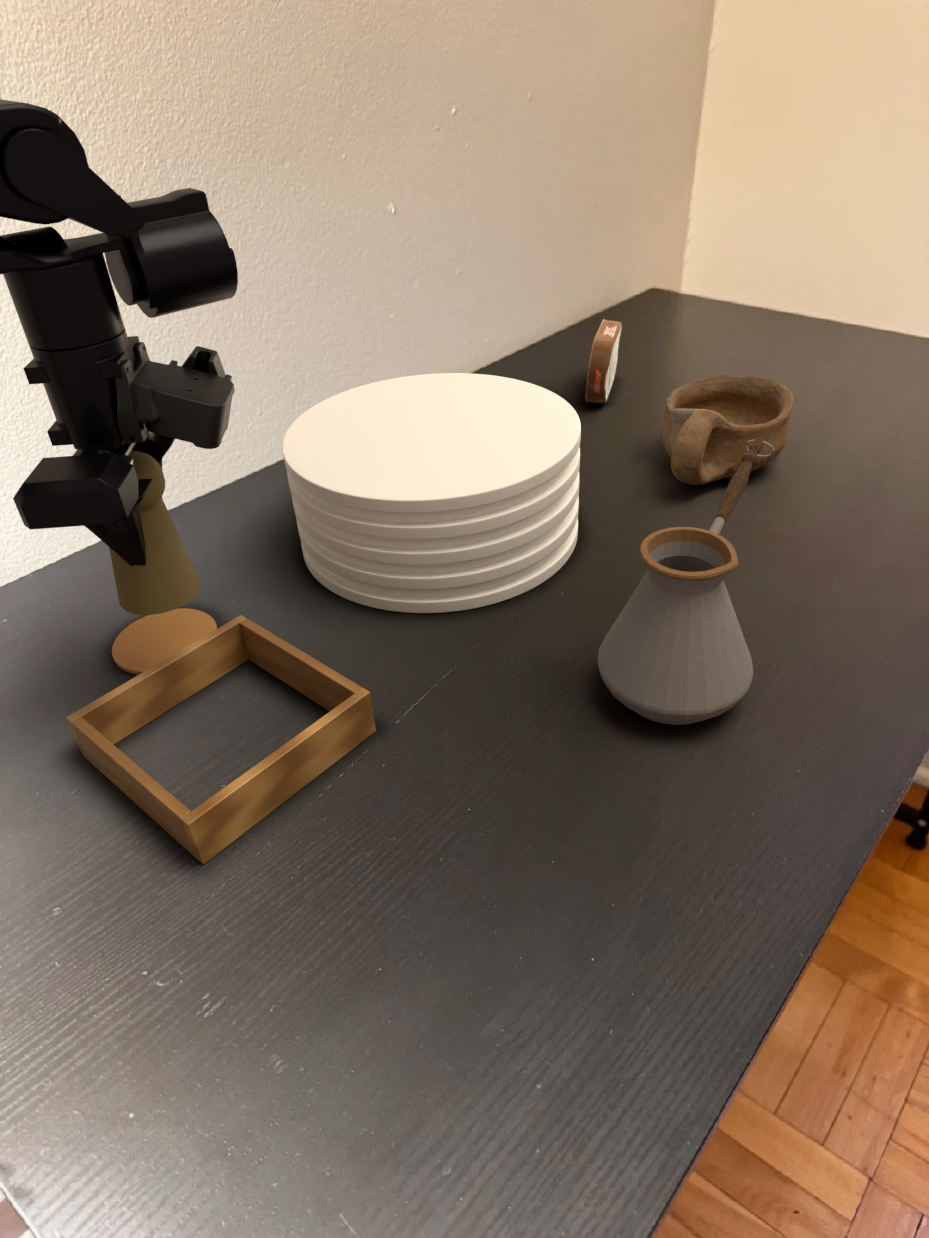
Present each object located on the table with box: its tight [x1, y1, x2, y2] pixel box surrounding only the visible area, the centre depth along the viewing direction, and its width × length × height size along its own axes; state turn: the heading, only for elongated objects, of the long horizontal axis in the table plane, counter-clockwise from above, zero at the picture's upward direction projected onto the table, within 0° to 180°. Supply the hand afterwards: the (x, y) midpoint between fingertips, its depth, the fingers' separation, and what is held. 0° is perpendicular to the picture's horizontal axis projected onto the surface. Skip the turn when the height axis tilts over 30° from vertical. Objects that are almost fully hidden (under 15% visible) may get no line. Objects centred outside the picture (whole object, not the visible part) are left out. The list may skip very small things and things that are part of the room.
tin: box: [584, 318, 623, 404], centre depth 111 cm, size 15×3×8 cm, turn 165°
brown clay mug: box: [660, 374, 795, 486], centre depth 91 cm, size 18×14×10 cm
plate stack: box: [281, 372, 582, 614], centre depth 83 cm, size 28×28×12 cm
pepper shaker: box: [108, 451, 201, 616], centre depth 61 cm, size 6×6×11 cm
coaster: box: [111, 607, 219, 676], centre depth 74 cm, size 9×9×1 cm
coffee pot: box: [596, 437, 774, 726], centre depth 64 cm, size 21×12×15 cm, turn 147°
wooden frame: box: [65, 614, 377, 865], centre depth 62 cm, size 16×16×4 cm
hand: (147, 548), depth 62 cm, fingers closed on pepper shaker, 4 cm apart
